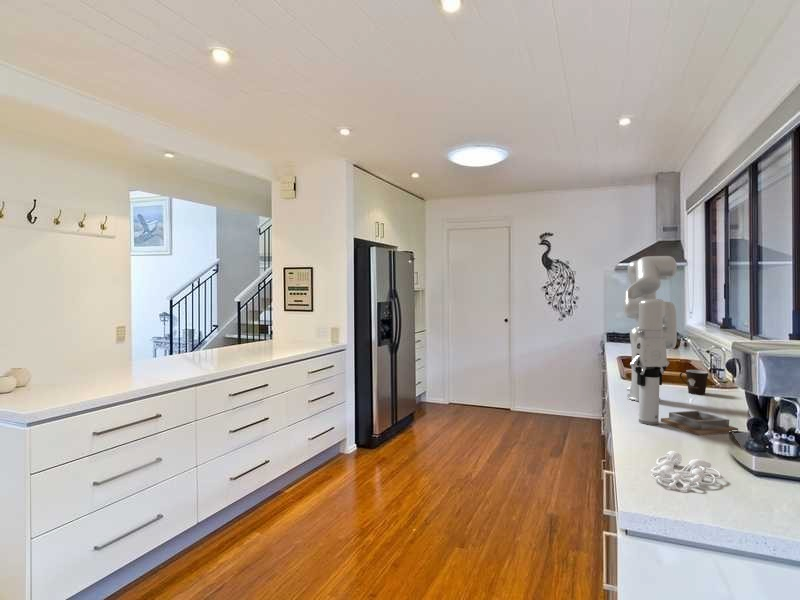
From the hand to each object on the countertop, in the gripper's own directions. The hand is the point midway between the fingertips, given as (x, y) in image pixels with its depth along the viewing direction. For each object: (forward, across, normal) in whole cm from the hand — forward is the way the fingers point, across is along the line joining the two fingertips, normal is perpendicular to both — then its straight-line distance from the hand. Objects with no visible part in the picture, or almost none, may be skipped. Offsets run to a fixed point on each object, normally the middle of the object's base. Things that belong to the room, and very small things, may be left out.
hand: (649, 384), depth 167 cm
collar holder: (+14, +13, -8) cm, 20 cm away
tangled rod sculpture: (+14, -28, -43) cm, 53 cm away
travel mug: (+14, 0, 0) cm, 14 cm away
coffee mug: (+14, +57, +36) cm, 69 cm away
